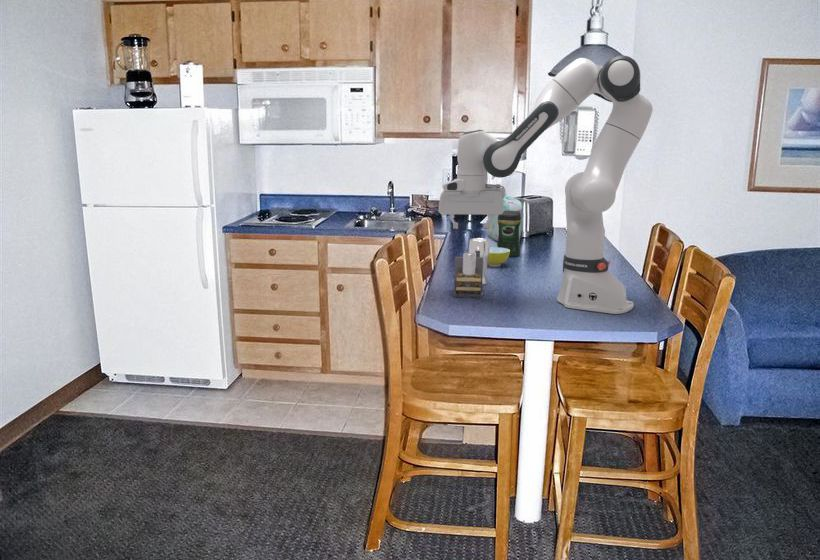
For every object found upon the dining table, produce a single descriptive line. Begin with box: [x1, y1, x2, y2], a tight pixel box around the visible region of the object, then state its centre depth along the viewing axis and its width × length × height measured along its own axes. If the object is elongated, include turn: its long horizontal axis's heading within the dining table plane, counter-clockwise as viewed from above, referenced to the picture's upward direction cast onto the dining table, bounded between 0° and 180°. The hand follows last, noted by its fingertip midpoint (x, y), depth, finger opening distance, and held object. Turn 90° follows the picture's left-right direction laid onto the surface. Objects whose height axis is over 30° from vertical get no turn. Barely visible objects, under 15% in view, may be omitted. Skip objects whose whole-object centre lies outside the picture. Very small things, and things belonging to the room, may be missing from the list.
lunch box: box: [487, 192, 523, 242], centre depth 300 cm, size 27×10×21 cm, turn 10°
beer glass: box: [468, 237, 490, 286], centre depth 220 cm, size 7×7×15 cm
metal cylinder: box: [462, 252, 476, 292], centre depth 206 cm, size 4×4×12 cm
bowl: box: [488, 246, 510, 268], centre depth 248 cm, size 11×12×6 cm
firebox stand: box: [453, 256, 484, 299], centre depth 206 cm, size 9×9×11 cm
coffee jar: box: [496, 211, 521, 258], centre depth 266 cm, size 10×8×19 cm
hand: (470, 228), depth 203 cm, fingers open, 8 cm apart
